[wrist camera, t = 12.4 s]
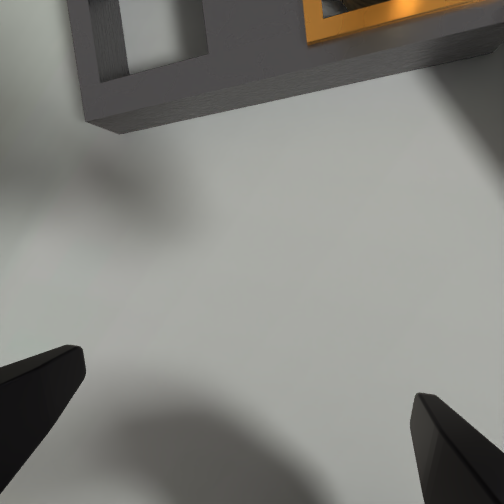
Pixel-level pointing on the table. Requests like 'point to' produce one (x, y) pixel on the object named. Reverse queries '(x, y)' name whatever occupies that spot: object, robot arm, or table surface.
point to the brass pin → (360, 3)
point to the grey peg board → (270, 54)
